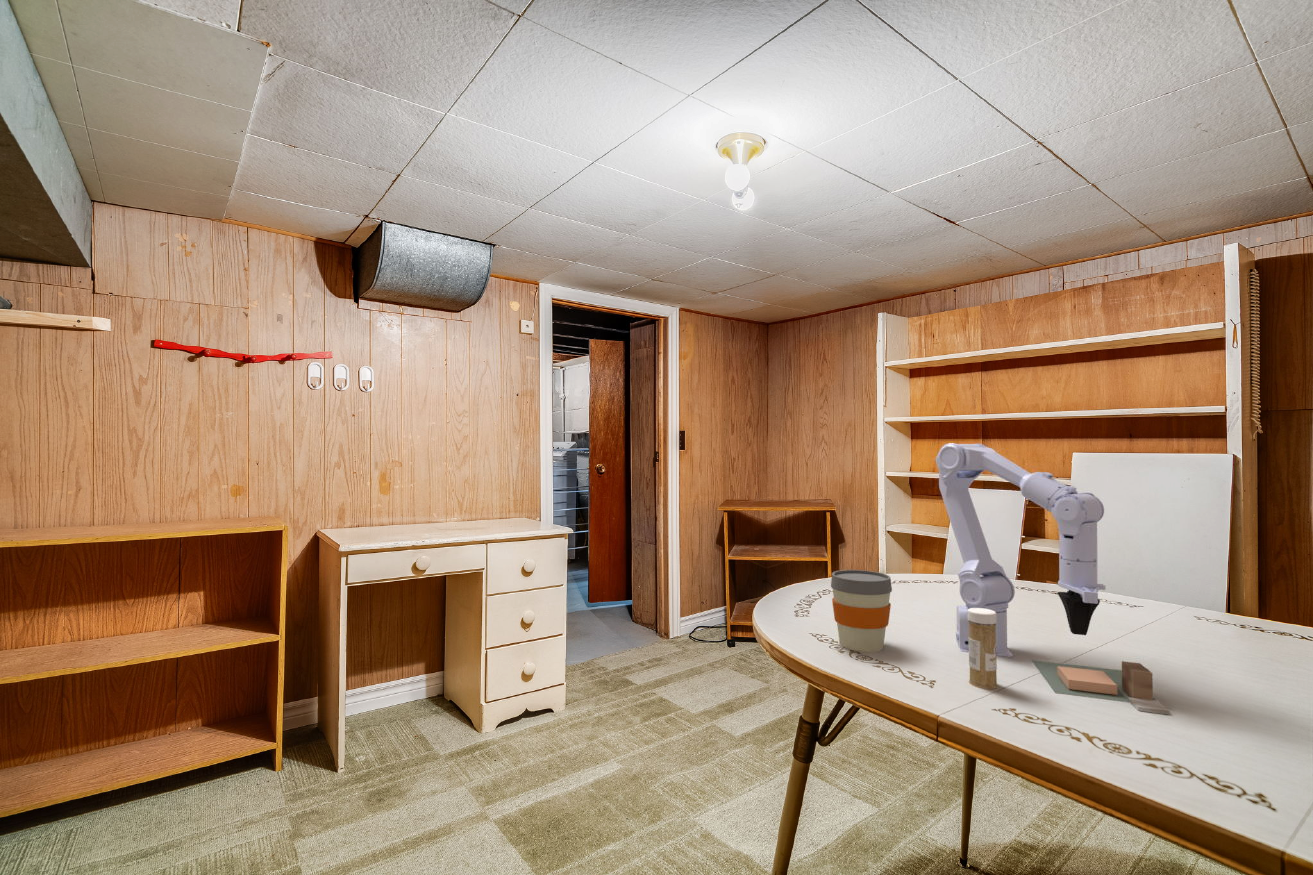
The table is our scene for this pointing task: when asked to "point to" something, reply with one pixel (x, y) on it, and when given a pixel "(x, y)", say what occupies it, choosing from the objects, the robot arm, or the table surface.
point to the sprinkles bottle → (982, 648)
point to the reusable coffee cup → (861, 608)
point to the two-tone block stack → (1140, 688)
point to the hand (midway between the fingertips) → (1078, 633)
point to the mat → (1059, 687)
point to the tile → (1086, 680)
